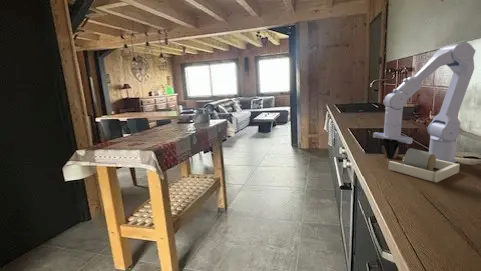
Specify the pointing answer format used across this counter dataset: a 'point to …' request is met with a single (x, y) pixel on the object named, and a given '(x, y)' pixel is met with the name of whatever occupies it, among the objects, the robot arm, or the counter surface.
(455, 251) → the counter surface
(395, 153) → the walnut block
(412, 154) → the ceramic mug
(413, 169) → the frame
